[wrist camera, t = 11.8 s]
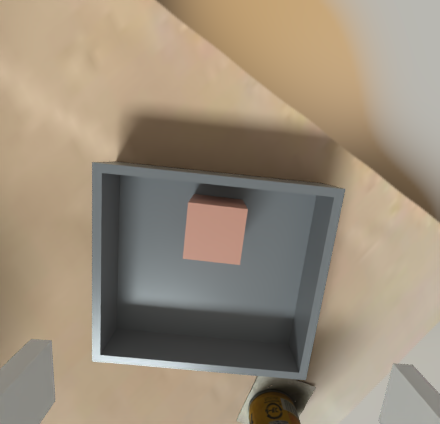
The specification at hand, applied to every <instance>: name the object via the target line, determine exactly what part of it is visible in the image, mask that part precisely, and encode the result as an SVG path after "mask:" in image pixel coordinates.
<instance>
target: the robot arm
mask: <svg viewBox="0 0 440 424" xmlns="http://www.w3.org/2000/svg"><path fill="white" fill-rule="evenodd" d="M54 402H55V387H54V372H53V356H52V340H37V339H31V340H30V341H29V342H27V343H26V344H25V345H24V346H23V347H22V348H21V349H20V350H19V351H18V352H17V353H16V354H15V355H14V356H13V357H12V358H11V359H10V360H9V361H8V362H7V363H6V364H5V365H4V366H3V367H2V368H1V369H0V424H40V423H41V421H42V420H43V418H44V417H45V415H46V414H47V412H48V411H49V409H50V408H51V406H52V405H53V403H54ZM379 423H380V424H440V394H439V393H438V391H436V389H435V388H434V387H433V386H432V385H431V384H430V383H429V382H428V381H427V380H426V379H425V378H424V377H423V375H421V373H420V372H419V371H418V370H417V369H416V368H415V367H414V366H413V365H408V364H394V363H393V366H392V370H391V374H390V378H389V382H388V385H387V389H386V393H385V398H384V401H383V405H382V409H381V413H380V416H379Z"/></svg>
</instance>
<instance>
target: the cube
mask: <svg viewBox="0 0 440 424" xmlns="http://www.w3.org/2000/svg"><path fill="white" fill-rule="evenodd" d="M247 212H248V209H247V207H246V205H245V203H244V201H243V200H241V199H233V198H224V197H216V196H207V195H199V194H194V195H193V196H192V198H191V199H190V200H189V202H188V209H187V219H186V230H185V240H184V251H183V259H190V260H199V261H208V262H217V263H226V264H235V265H240V260H241V253H242V247H243V240H244V233H245V226H246V219H247Z"/></svg>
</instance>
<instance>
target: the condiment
mask: <svg viewBox="0 0 440 424" xmlns="http://www.w3.org/2000/svg"><path fill="white" fill-rule="evenodd" d="M271 385H272V386H271ZM270 386H271V387H270ZM267 387H269V388H267ZM315 388H316V387H313V386H310V385H308V384H306V383H303V382H300V381H297V380H295V379H287V378H276V377H264V376H258V377H257V379H256V382H255V383H254V385H253V388H252V390H251V392H250V393H249V395H248V397H247V399H246V401H245V404H244V406H243V408H242V410H241V412H240V414H239V416H238V419H237V422H240V423H244V424H300V420H299V415H300V414H301V413H302V411H303V410H304V408H305V405H306V404H307V402H308V400H309V398H310V396H311V395H312V394H313V391H314V389H315ZM295 401H296V402H295Z"/></svg>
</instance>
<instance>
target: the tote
mask: <svg viewBox="0 0 440 424" xmlns="http://www.w3.org/2000/svg"><path fill="white" fill-rule="evenodd" d="M344 193H345V189H343V188H339V187H335V186H331V185H327V184H323V183H315V182H305V181H296V180H286V179H277V178H267V177H258V176H249V175H239V174H230V173H220V172H211V171H201V170H192V169H182V168H173V167H163V166H154V165H144V164H135V163H125V162H92V361H95V362H106V363H118V364H129V365H140V366H152V367H163V368H174V369H185V370H197V371H208V372H219V373H231V374H242V375H253V376H264V377H276V378H287V379H298V380H306V377H307V372H308V367H309V362H310V357H311V352H312V348H313V343H314V338H315V333H316V328H317V323H318V319H319V314H320V309H321V304H322V299H323V294H324V290H325V285H326V280H327V275H328V270H329V265H330V261H331V256H332V251H333V246H334V241H335V236H336V232H337V227H338V222H339V217H340V212H341V207H342V203H343V198H344ZM194 194H199V195H207V196H216V197H224V198H233V199H241V200H243V201H244V203H245V205H246V207H247V209H248V212H247V219H246V226H245V233H244V240H243V247H242V253H241V260H240V265H235V264H226V263H217V262H208V261H199V260H190V259H183V251H184V240H185V230H186V219H187V209H188V202H189V200H190V199H191V198H192V196H193V195H194Z"/></svg>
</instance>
